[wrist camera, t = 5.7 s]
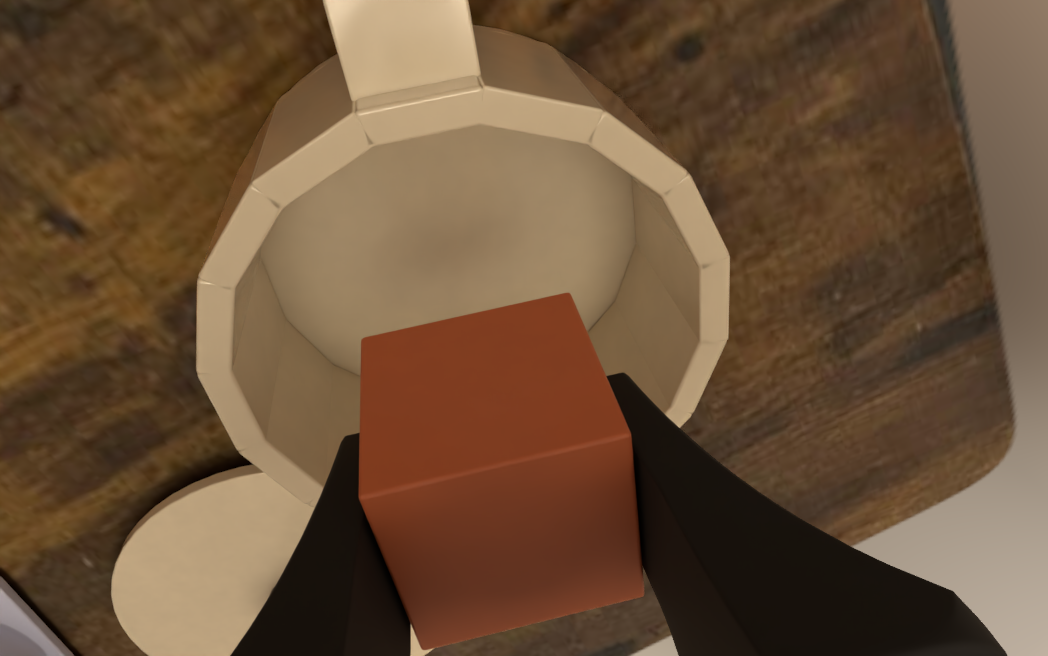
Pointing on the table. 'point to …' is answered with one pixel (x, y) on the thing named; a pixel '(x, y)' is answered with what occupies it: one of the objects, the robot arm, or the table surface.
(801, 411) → the table surface
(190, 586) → the lid
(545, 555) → the block
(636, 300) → the pot
